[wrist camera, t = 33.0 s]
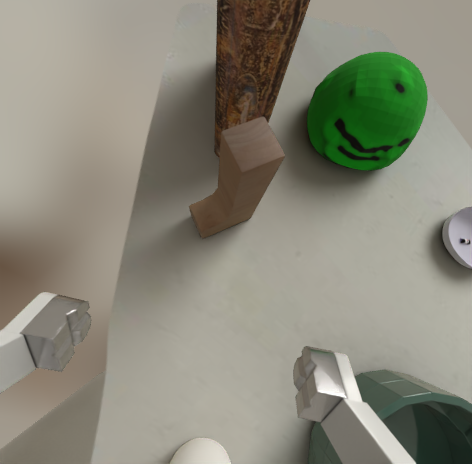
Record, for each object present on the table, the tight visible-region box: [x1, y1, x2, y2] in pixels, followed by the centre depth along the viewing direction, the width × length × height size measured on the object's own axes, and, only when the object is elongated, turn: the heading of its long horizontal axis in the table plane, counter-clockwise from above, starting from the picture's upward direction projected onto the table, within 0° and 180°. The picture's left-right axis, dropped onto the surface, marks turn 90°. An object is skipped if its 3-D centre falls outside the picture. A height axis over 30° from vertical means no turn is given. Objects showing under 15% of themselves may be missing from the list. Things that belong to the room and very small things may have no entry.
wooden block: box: [189, 117, 285, 239], centre depth 23 cm, size 7×3×15 cm, turn 115°
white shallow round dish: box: [442, 207, 472, 269], centre depth 32 cm, size 8×8×2 cm
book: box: [215, 0, 310, 158], centre depth 22 cm, size 16×6×25 cm, turn 174°
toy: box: [307, 52, 427, 171], centre depth 30 cm, size 14×13×10 cm
